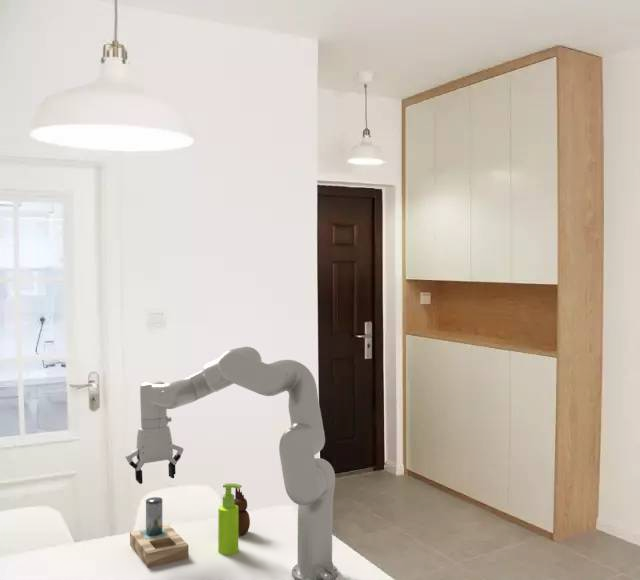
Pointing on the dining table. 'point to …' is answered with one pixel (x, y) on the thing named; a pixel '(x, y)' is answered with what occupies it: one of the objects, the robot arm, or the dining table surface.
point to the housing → (159, 546)
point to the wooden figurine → (242, 513)
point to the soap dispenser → (228, 523)
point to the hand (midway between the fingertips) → (155, 479)
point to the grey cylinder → (154, 516)
